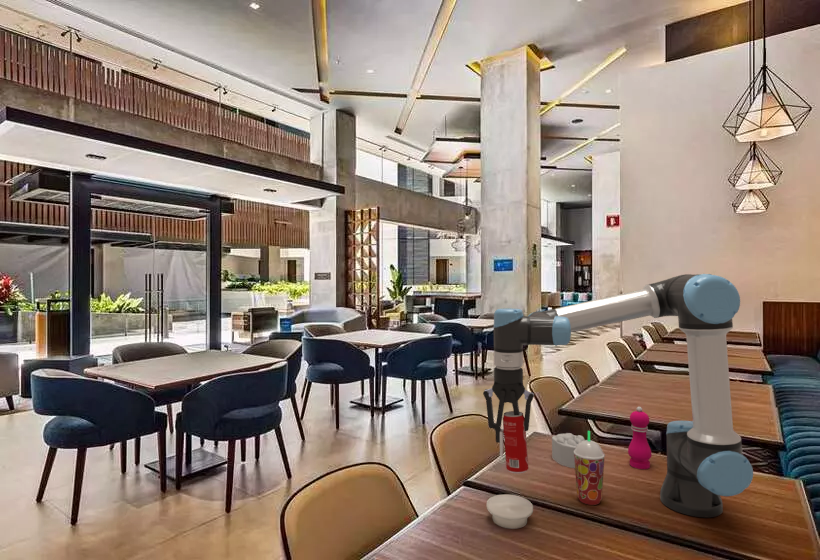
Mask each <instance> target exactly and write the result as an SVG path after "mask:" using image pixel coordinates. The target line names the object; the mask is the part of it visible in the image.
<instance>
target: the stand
mask: <svg viewBox="0 0 820 560" xmlns="http://www.w3.org/2000/svg"><path fill="white" fill-rule="evenodd" d="M486 509H487V511H488V512H489V514H490V515H492V516H491V517H492V521H493V523H494V524H496V525H497V526H499V527H502V528H504V529H512V530H514V529H520V528H523V527H525V526H526V525H527V523H528V518H530V517H531V515H533V512H534V506H533V503H531V501H530V500H528V499H527V498H525V497H523V496H519V495H515V494H497V495H494V496H491V497H489V499H487V501H486Z"/></svg>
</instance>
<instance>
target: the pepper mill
mask: <svg viewBox="0 0 820 560" xmlns="http://www.w3.org/2000/svg"><path fill="white" fill-rule="evenodd" d="M629 421H630V423H631V430H632V437H631V438H632V439H631V441H630V442H629V445H628V447H627V454H628V456H629V457H630V458H629V465H630V467H632V468H634V469H637V470H638V469H639V470H648V469H650V468H651V461H650V460H651V458H652V449H651V447H650V445H649V443H648V438H647V432H648V431H649V429H648V428H649V427H648V425H649V423H650V417H649V415H648V414H647V413H646V412H644V411H643V408H642V407H641V406H637V407H636V410H635V411H633V412H631V413H630V414H629Z"/></svg>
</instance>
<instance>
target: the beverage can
mask: <svg viewBox="0 0 820 560" xmlns="http://www.w3.org/2000/svg"><path fill="white" fill-rule="evenodd" d="M524 419H525V414H524V413H523V412H522V411H519V415H514V411H513V410H510V411H506V412H503V416H502V429H503V430H504V453H505V454H504V455H505V456H504V457H505V468H506V470H507V471H508V472H510V473H512V474H522V473H526V472H527V471H528V470H529V456H528V443H527V442H528V441H527V431H525V430H524Z"/></svg>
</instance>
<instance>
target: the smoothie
mask: <svg viewBox="0 0 820 560" xmlns="http://www.w3.org/2000/svg"><path fill="white" fill-rule="evenodd" d="M605 457H606V454H605V452H604V451H603V449H602V448H601V445H599V443H597V442H595V441H594V440H591V431H590V430H587V439H584V441H582V442H580V443H579V444H578V445H577V447H576V449H575V450H574V461H575V468H574V472H575V473H574V474H575V485H576V486H575V487H576V496H577V497H578V500H579V501H580V502H581V503H583V504H585V505H589V506H595V505H599V504H600V503H601V501H602V499H603V490H604V489H603V487H604V473H605V472H604V471H605V470H604V469H605Z"/></svg>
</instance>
